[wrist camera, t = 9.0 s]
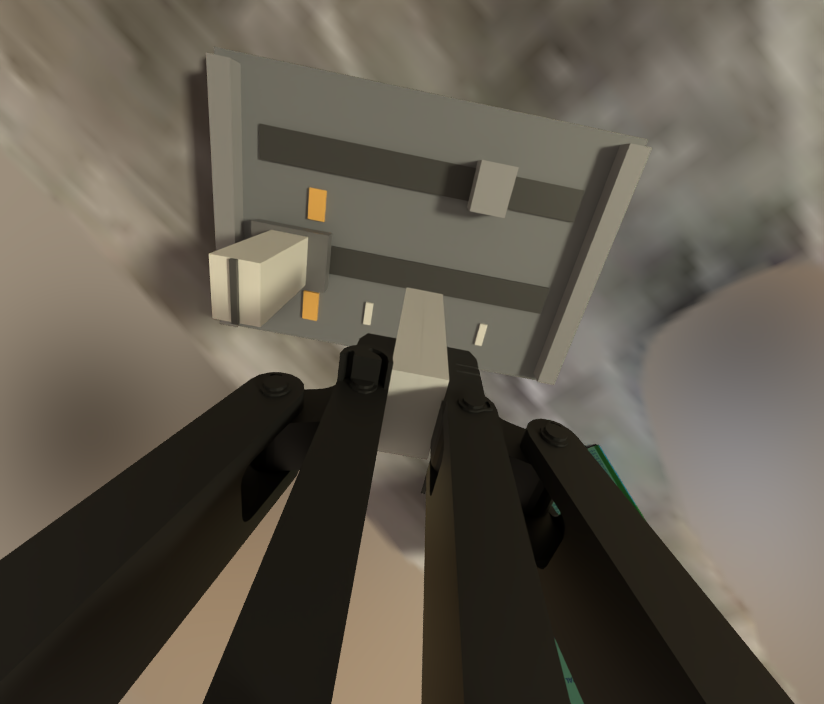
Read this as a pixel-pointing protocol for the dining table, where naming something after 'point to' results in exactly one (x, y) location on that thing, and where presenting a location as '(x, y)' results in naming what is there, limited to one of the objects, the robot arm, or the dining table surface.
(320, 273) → the fader
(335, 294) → the console
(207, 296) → the dining table surface
